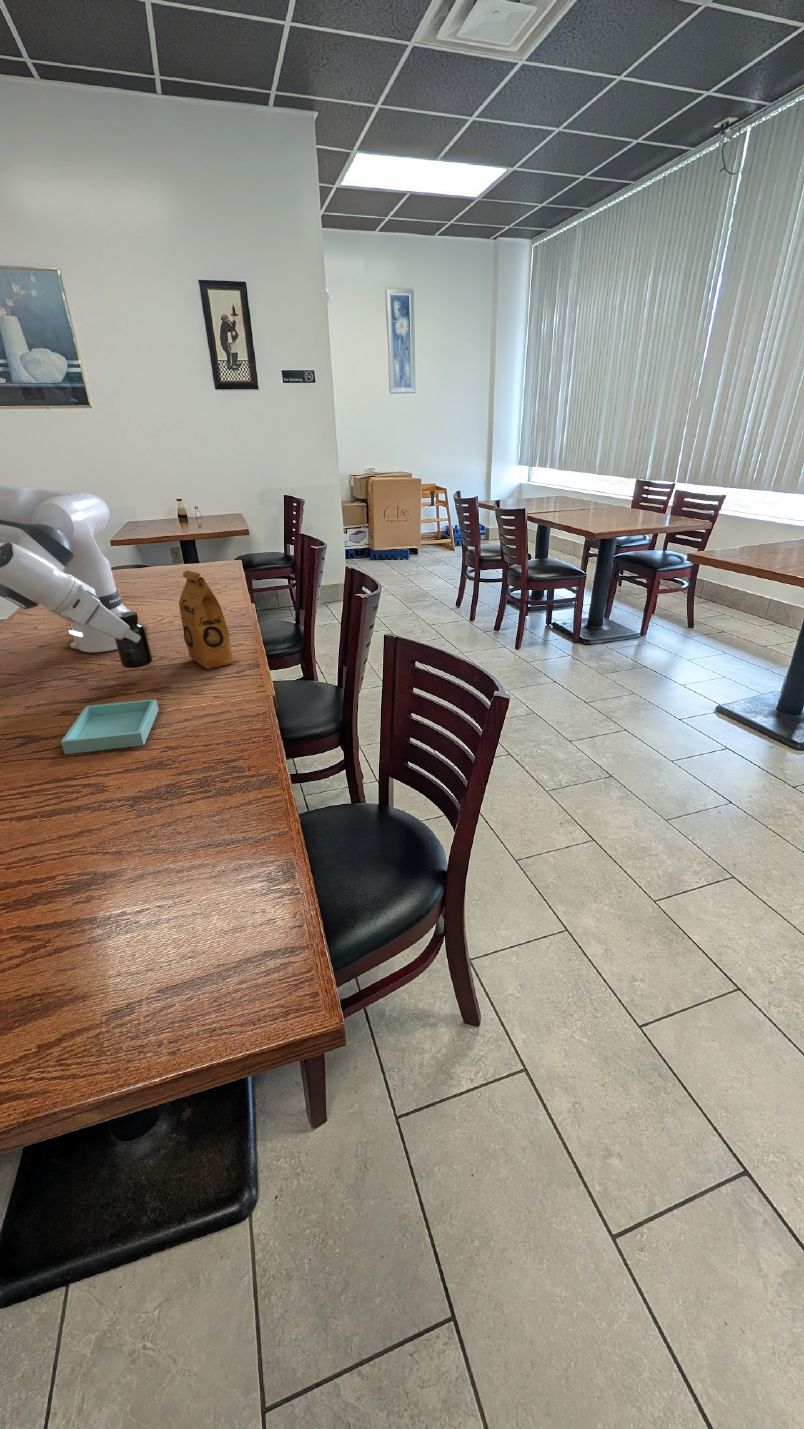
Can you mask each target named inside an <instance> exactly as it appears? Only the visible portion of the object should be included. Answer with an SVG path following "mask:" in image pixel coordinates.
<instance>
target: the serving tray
mask: <svg viewBox="0 0 804 1429" xmlns="http://www.w3.org/2000/svg"><path fill="white" fill-rule="evenodd" d="M159 711H160V710H159V705H158V701H157V698H152V699H151V698H150V699H143V700H142V699H141V700H132V701H123V702H122V701H121V702H112V703H105V704H104V703H103V704H102V703H101V704H92V705H85V707H84V708H83V710H82V711H81V712H80V714H79V715H78V717H77V718H76V720H75V721H74V722H73V724H72V725H71V727H70V728H69V729H68V731H67V732H66V734H65V735H64V736H63V738H62V739H61V741H60V744H61V747H62V750H63V753H64V755H73V754H80V753H89V752H98V751H107V750H115V749H124V748H133V747H141V746H142V747H143V746H145V743H146V741H147V739H148V736H149V734H150V731H151V730H152V728H153V724H154V722H155V720H156V718H157V715H158V712H159Z"/></svg>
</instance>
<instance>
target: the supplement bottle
mask: <svg viewBox="0 0 804 1429" xmlns="http://www.w3.org/2000/svg"><path fill="white" fill-rule="evenodd" d="M116 616H117V617H119V618H120V619H121V620H123V621H124V622H125V623H126V624H128V625H129V626H130V630H132V631H133V632H135V633H137V634H138V635H140V636H141V639H140V640H139V641H138V642H137V643H136V642H134V641H132V640H130V639H128V638H125V637H124V638H123V639H122V640H119V639H116V638H115V641H116V645H117V649H116V650H117V652H118V656H119V660H120V663H121V664H120V665H121V666H122V667H124V668H126V669H138V668H142V667H146V666H148V665H151V663H152V662H153V655H152V651H151V647H150V642H149V639H148V634H147V629H146V627H145V625H144V624H143V623H141V622H139V620H140V619H139V616H138V612H136V611H131V612H123V613H118V614H116Z"/></svg>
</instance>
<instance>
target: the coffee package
mask: <svg viewBox="0 0 804 1429" xmlns="http://www.w3.org/2000/svg"><path fill="white" fill-rule="evenodd" d="M182 576H183V578H185V579H186V581H185V584H184V586H183V589H182V592H181V595H180V598H179V600H178V608H179V612H180V613H179V614H180V618H181V625H182V629H183V639H184V642H185V644H186V647H187V651H188V655H189V657H190V658H191V659H192V660H193V661H194V662H196V663H197V664H198V665H199V666H202V667H203V668H204V669H205V670H210V669H212V668H220V667H222V666H224V667H225V666H228V665H232V664H234V656H233V650H232V645H231V638H230V636H231V635H230V631H229V626H228V623H227V619H226V617H225V615H224V612H223V610H222V606H221V604H220V602H219V600H218V598H217V597H216V595H215V593H214V592H213V590H212V589H211V588H210V586H209V585H208V583H207V581H206V579H205V577H203V575H202V574H201V573H199V572H196V571H192V570H189V569H186V570H185V571H183V574H182Z"/></svg>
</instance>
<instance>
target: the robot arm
mask: <svg viewBox="0 0 804 1429" xmlns="http://www.w3.org/2000/svg"><path fill="white" fill-rule="evenodd" d="M110 519H111V513H110V510H109V507H108V505H107V503H106V502H105V501H104V500H103V499H102V498H101V497H99V496H98V495H95V494H92V493H89V492H83V491H82V492H81V491H73V490H64V489H63V490H62V489H54V488H53V489H52V488H38V487H24V486H18V485H11V484H5V483H0V544H1V545H0V597H1V598H3V599H5V600H7V601H9V602H11V603H13V604H15V606H18V607H19V608H21V609H22V610H30V609H33V608H36V607H39V606H40V605H42V606H43V607H45V608H46V610H48V611H49V612H52V613H53V614H55V615H57V616H58V617H59V618H62V619H64V620H66V621H67V622H69V623H70V627H71V630H70V629H69V630H68V632H69V634H70V635H72V636H73V642H71V643H69V645H70V646H69V647H70V648H71V649H75V650H79V651H81V652H83V653H104V652H110V651H116V650H118V649H117V645H116V641H115V638H116V639H119V640H122V639H123V638H124V637H125V638H128V639H130V640H132V641H134V642H136V643H137V642H138V641H139V640H140V639H141V636H140V635H138V634H137V633H135V632H133V631H132V630H130V626H129V625H128V624H126V623H125V622H124V621H123V620H121V619H120V618H119V617H117V616H116V614H118V613H123V612H132V611H130V609H129V608H128V607H126V606H125V605H124V604H123V600H122V596H121V590H120V588H119V587H116V583H115V579H114V575H113V571H112V567H111V563H110V561H109V559H107V557H105V556H104V554H103V553H102V551H101V550H100V548H99V546H98V544H97V541H96V539H95V536H97V535H100V534H101V533H102V532H103V531H104V530H105V529H106V527H107V526H108V525H109V524H110Z"/></svg>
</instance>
